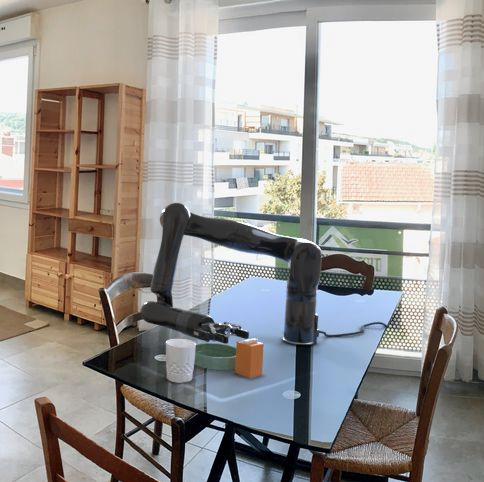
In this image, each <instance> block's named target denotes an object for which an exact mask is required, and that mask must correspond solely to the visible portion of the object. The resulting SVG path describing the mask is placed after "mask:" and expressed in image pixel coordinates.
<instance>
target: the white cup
mask: <svg viewBox="0 0 484 482" xmlns="http://www.w3.org/2000/svg"><path fill="white" fill-rule="evenodd" d="M196 344H197V343H196V342H195V341H193V340H190V339H186V338H170V339H167V340H166V341H165V368H166V379H167V380H168V381H169V382H171V383H176V384H184V383H186V382H191V381H192V380H193V378H194V377H193V376H194V368H195V365H194V361H195V350H196Z"/></svg>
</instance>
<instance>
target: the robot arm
mask: <svg viewBox="0 0 484 482" xmlns="http://www.w3.org/2000/svg"><path fill="white" fill-rule="evenodd" d="M159 224H160V226H161V228H162V231H161V232H162V233H161V241H160V246H159V249H158V250H159V251H158V253H157V257H156V261H155V264H154V268H153V273H152V277H151V283H150V288H149V289H150V292H151V293H152V294H154V295H155V296H156V301H153V300H148V301H146V302H144V303H143V304H142V305H141V307H140V317H141V318H142V320H143V321H144V322H145V323H147V324H150V325H151V324H152V325H155V326H160V327H164V328H167V329H169V330H172V331H175V332H177V333H180V334H182V335H185V336H188V337H189V338H190V337H191V338H194V339H198V340H200V341H204V342H205V343H211V342H217V343H220V344H226V345H228V344H229V338H230V337H231V336H232V337H237V338H241V339H243V340H247V339H250V332H249V330H245V329H242V325H241V324H240V325H239V324H235V323H232V322H228V321H223V323H220V322H216V321H215V320H214V318H213V317H212V316H210V315H209V314H205V313H201V312H198V311H195V310H194V311H193V310H187V309H183V308H181V307H174V299H173V298H174V297H173V288H174V284H175V278H176V272H177V266H178V261H179V255H180V249H181V246H182V241H183V239H184V236H188V237H192V238H196V239H197V238H198V239H201V240H203V241H206V242H208V243H211V244H214V245H217V246H220V247H223V248H226V249H229V250H233V251H237V252H240V253H245V254H252V255H261V256H262V255H263V256H268V257H272V258H275V259H277V260H281V261H284V262H286V263H289V276H288V279H287V281H286V284H285V285H286V286H285V287H286V288H285V289H286V290H285V304H284V305H285V307H284V323H283V331H282V336H283V337H282V341H283V342H284V343H286V344H290V345H295V346H302V347H303V346H304V347H305V346H307V347H308V346H312V345H317V342H318V338H319V337H320V334H322V335H324V337H327V338H339V337H345V336H346V337H348V336H354V335H359V334H362V333H364V331H365V328H366V327H369V326H373V325H382V326H383V327H385V328H388V325H387V324H386V323H385V322H383V321H375V322H369V323H365V324H362V325H361V327H360V328H361V330H357V331H354V332H347V333H337V334H328V333H327V332H326V331H323V330H320V329H318V327H319V315H318V313H317V301H318V300H317V299H318V287H319V283H320V280H321V272H322V263H323V262H322V259H323V257H322V251H321V248H320V247H319V246H318V245H317V244H316V243H314V242H312V241H310V240H308V239H305V238H297V237H290V236H284V235H280V234H276V233H273V232H270V231H268V230H265V229H263V228H260V227H258V226H256V225H252V224H249V223H245V222H242V221H238V220H234V219H229V218H218V217H208V216H203V215H200V214H196V213H194V212H190V210H189V209H188V207H187V206H186V205H185V204H183V203H181V202H173V203H170V204H167V205H166V206H165V207H164V209H162V211H161V213H160V215H159Z"/></svg>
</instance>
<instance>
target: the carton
mask: <svg viewBox="0 0 484 482" xmlns="http://www.w3.org/2000/svg"><path fill="white" fill-rule="evenodd" d="M235 347H236V368H235V369H234V370H235V371H234V373H236V374H238V375H241V376H244V377H246V378H248V379H251V378H255V377H259V376H263V363H264V361H263V360H264V343H263V342H260V341H259V338H256V337H253V338H248V339H242V340H238V341H236V346H235Z"/></svg>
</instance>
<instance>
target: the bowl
mask: <svg viewBox="0 0 484 482" xmlns="http://www.w3.org/2000/svg"><path fill="white" fill-rule="evenodd" d="M194 366H196V367H199V368H201V369H202V368H203V369H208V370H213V371H214V370H215V371H231V370H232V371H233V370H235V368H236V346H234V345H230V344H224V343H221V342H201V343H196V350H195V361H194Z"/></svg>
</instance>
